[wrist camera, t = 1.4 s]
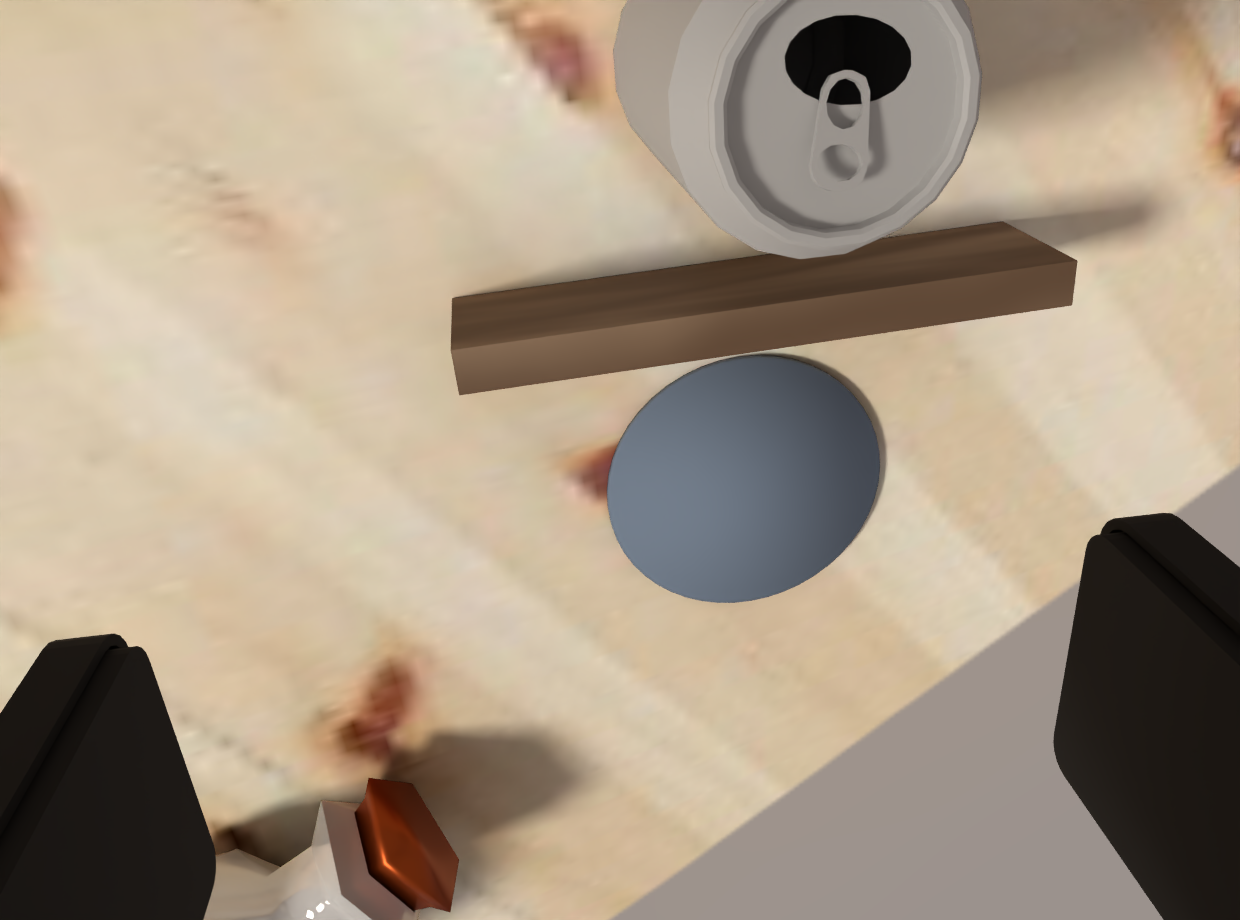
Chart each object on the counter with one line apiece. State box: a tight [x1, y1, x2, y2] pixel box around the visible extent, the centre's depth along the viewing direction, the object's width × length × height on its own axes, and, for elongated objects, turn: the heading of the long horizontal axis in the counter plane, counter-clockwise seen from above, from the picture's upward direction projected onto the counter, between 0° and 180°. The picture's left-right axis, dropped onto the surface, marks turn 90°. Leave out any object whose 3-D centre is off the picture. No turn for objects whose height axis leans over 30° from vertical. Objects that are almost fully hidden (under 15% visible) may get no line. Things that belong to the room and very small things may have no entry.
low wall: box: [451, 222, 1077, 395], centre depth 34 cm, size 2×20×5 cm, turn 95°
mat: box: [607, 355, 880, 603], centre depth 40 cm, size 11×11×1 cm
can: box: [613, 0, 982, 259], centre depth 27 cm, size 8×8×12 cm
